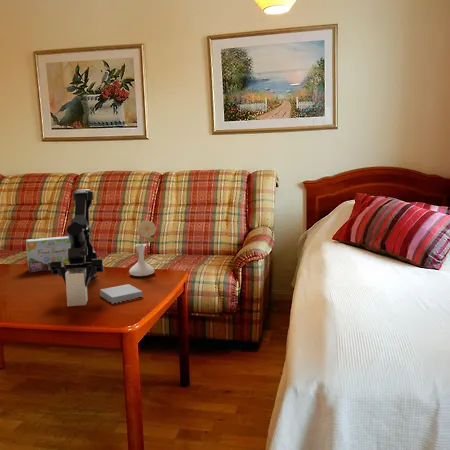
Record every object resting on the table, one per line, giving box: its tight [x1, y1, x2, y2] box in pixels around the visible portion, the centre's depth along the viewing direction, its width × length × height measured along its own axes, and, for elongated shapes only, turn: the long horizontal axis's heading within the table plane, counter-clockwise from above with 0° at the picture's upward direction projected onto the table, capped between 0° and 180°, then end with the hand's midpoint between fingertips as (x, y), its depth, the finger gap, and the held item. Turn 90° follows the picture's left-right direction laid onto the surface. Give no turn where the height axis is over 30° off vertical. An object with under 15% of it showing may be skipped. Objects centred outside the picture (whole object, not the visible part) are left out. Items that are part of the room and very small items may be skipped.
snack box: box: [25, 235, 71, 273], centre depth 212 cm, size 21×6×15 cm, turn 117°
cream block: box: [65, 269, 89, 307], centre depth 163 cm, size 6×6×12 cm
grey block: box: [99, 283, 144, 305], centre depth 170 cm, size 12×12×3 cm
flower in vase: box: [128, 220, 157, 277], centre depth 199 cm, size 13×11×25 cm
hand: (76, 286), depth 161 cm, fingers closed on cream block, 6 cm apart
